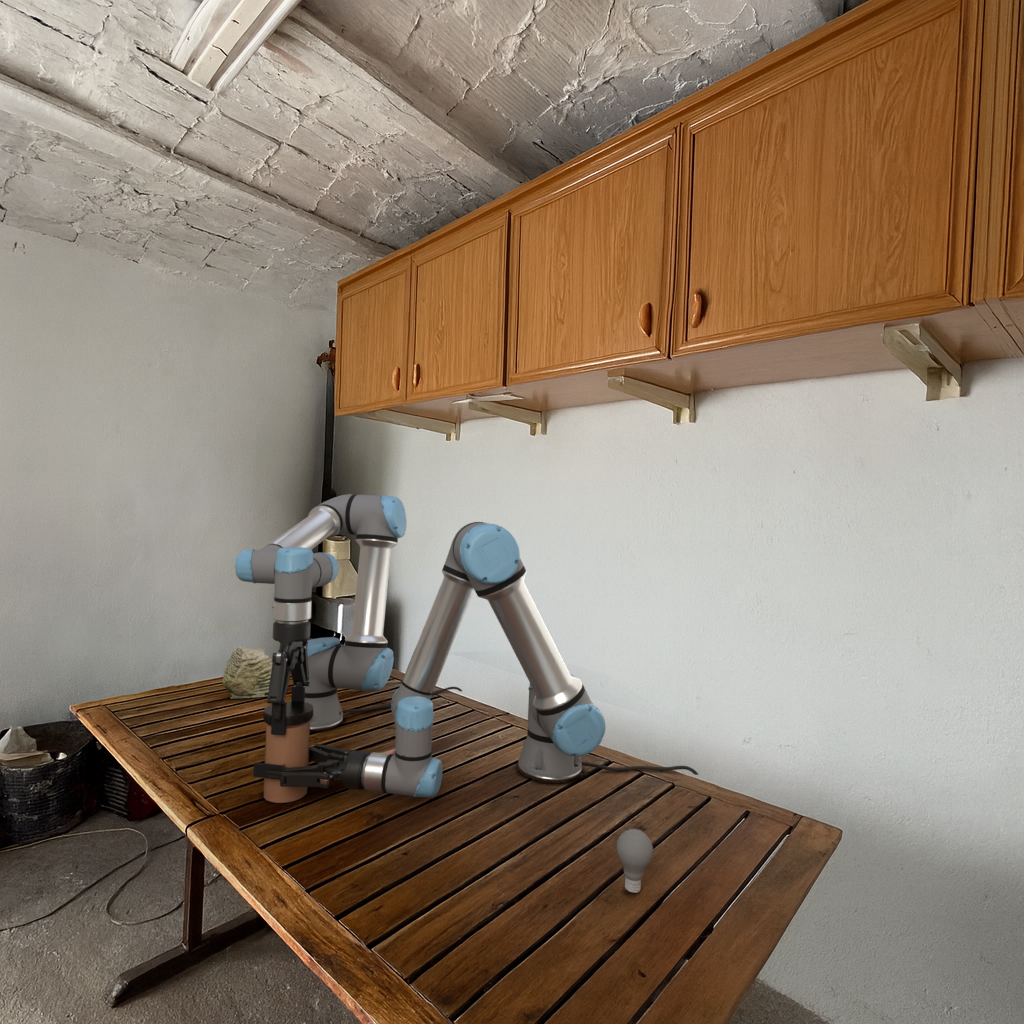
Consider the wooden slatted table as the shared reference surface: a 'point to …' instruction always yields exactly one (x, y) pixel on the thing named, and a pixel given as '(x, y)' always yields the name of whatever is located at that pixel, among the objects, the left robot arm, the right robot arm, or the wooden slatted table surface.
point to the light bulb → (634, 857)
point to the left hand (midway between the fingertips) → (288, 725)
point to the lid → (292, 713)
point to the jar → (286, 760)
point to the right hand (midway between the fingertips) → (266, 760)
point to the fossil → (248, 673)
